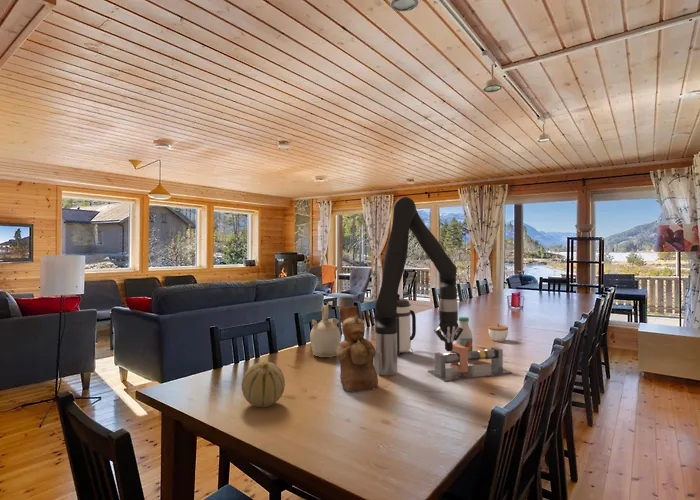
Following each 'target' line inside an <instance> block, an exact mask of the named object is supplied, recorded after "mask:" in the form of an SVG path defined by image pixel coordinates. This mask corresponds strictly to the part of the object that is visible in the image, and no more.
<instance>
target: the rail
mask: <svg viewBox="0 0 700 500" xmlns="http://www.w3.org/2000/svg"><path fill="white" fill-rule="evenodd" d="M503 355H504V354H503V348H499V347H497V346H491V347H490V348H489V349H483V350H472V351H468V362H475V361H479V360H490V361H491V363H484V364H483V363H482V364H475V365H468V371H467V372H460V371H458V370H456V369H454V368H452V367H448V368H446V364H447V365H449V364H451V363H458V364H459V363H460V354H459V353H450V352H448V353H441V352H434V369H429V370H427V373H429V374H430V375H433V376H434V377H435V378H438V379H440V380H441V381H443V382H445V383H446V382H447V383H448V382H453V381H454V382H455V381H461V380H462V381H463V380H469V379H470V380H471V379H480V378H485V377H487V378H488V377H493V376H494V377H495V376H504V375H505V376H506V375H512V373H513V371H510V370H507V369H505V368H504V366H503V365H504V363H503V362H504V358H503Z"/></svg>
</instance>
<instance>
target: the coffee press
mask: <svg viewBox="0 0 700 500" xmlns="http://www.w3.org/2000/svg"><path fill="white" fill-rule="evenodd" d="M400 297H401V295H400V294H399V293H398V296H397V357H400V353H405V352H406V353H407V352H409V353H410V354H413V352H414V350H413V349H412V348H411V341H412V340H414V339H415V337H416V334H417V333H416V331H417V329H416V328H417V325H416V324H417V323H416V322H417V321H416V314H415V311H414V310H411V303H410V301H409V300H408V299H406V298H400ZM411 323H412V324H411ZM411 326H412V327H411ZM410 350H411V351H410Z"/></svg>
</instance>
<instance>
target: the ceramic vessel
mask: <svg viewBox="0 0 700 500" xmlns="http://www.w3.org/2000/svg"><path fill="white" fill-rule="evenodd" d="M339 315H340V322H341V330H342V334H343V336H344V337H343V338H344V339H343V341H340V344H339V346H338V348H337V351H336V356H335V357H336V359H337V360H338V362H339V366H340V370H339V371H340V372H339V373H340V375H339V378H340V379H339V380H340V384H341V386H342V388H343V389H344V390H345V391H347V392H364V391H365V392H366V391H371V390H374V389H376V388H377V387H378V384H379V378H378V374H377V373H376V371H375V368H374V356H375V354H376V350H375V349H376V347H375V346H374V345H373V343H372V342H371V341H370V340H369V339H366V338H365V332H366V328H365V322H364V321H363V320H362V319H361V317H360V310H359V307H358V306H357V305H352V306H344V307H341V308H339Z"/></svg>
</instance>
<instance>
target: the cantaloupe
mask: <svg viewBox="0 0 700 500" xmlns="http://www.w3.org/2000/svg"><path fill="white" fill-rule="evenodd" d="M241 381H242V382H241V391H242V395H243V397H244V398H245V400H246V402H248V404H250V405H251V406H253V407H258V408H266V407H270V406H272V405H274V404H277V402H278V401H279V400H280V398H281V397H282V396H283V394H284V392H285V391H284V390H285V387H286V380H285V376H284V373H283V371H282V369H281V367H279V366H278V365H276V363H273V362H271V361H260V362H257V363H255V364H253V365H251V366H250V367H248V369H247V370H246V372H245V373H244V375H243V377H242V380H241Z"/></svg>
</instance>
